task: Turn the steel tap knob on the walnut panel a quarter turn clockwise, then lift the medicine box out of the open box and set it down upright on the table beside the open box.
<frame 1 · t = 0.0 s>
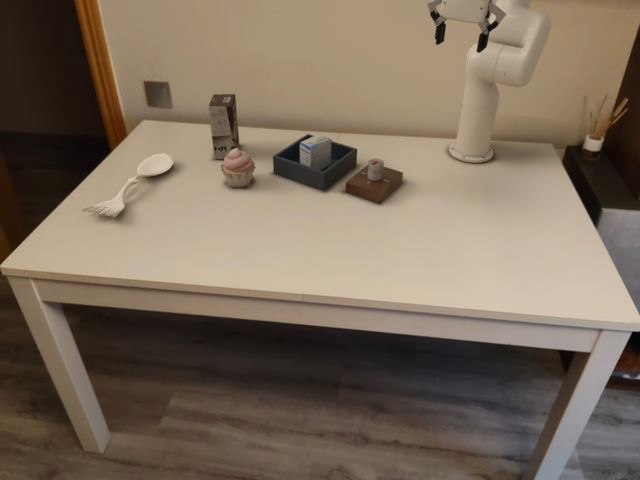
hand: (459, 47, 122), 37 cm above the table, tool pointing down, fingers open, 9 cm apart
medicine box: (315, 169, 151), resting on open box
coffee box: (227, 153, 160), on the table
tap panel: (374, 187, 144), on the table
tap knob: (375, 169, 141), point 5 cm above the table, hinge at 0.0°
cupcake: (239, 182, 146), on the table
spoon: (136, 190, 142), on the table
open box: (315, 169, 152), on the table
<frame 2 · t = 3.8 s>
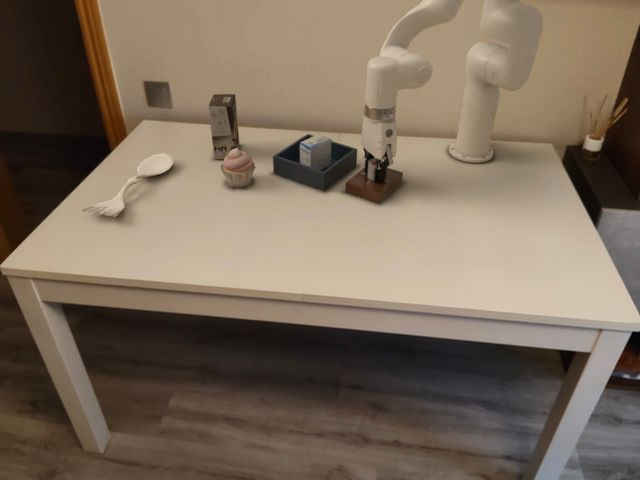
hand: (374, 176, 142), 3 cm above the table, tool pointing down, fingers closed on tap knob, 4 cm apart
tap knob: (375, 169, 141), point 5 cm above the table, hinge at 0.0°, touching gripper
everything else where it was.
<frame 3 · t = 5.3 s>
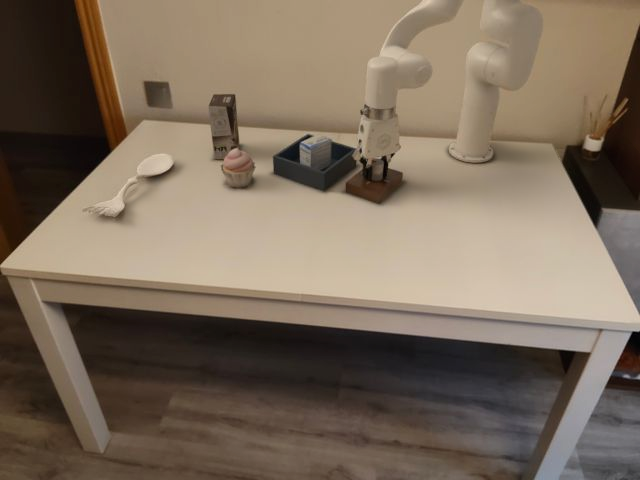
hand: (374, 176, 142), 3 cm above the table, tool pointing down, fingers closed on tap knob, 4 cm apart
tap knob: (375, 169, 141), point 5 cm above the table, hinge at -88.0°, touching gripper
everything else where it was.
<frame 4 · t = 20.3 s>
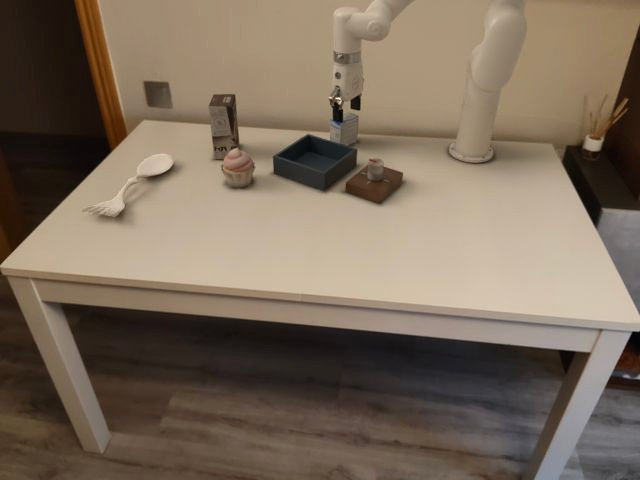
hand: (346, 115, 159), 9 cm above the table, tool pointing down, fingers open, 9 cm apart
medicine box: (343, 144, 165), on the table
tap knob: (375, 169, 141), point 5 cm above the table, hinge at -88.3°
everything else where it was.
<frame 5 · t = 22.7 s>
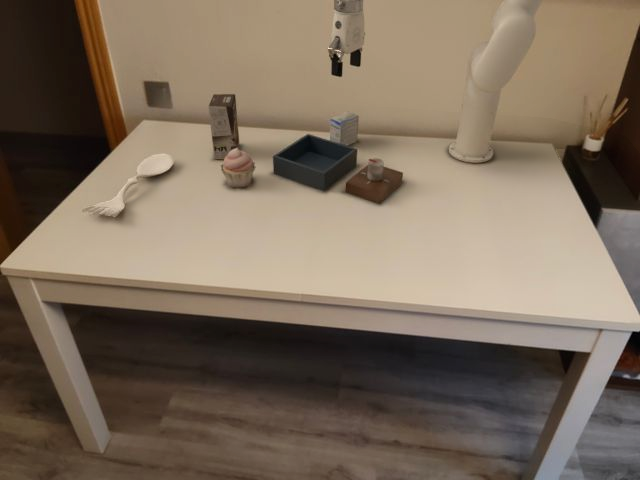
hand: (346, 70, 151), 22 cm above the table, tool pointing down, fingers open, 9 cm apart
nothing on the table moved.
at the end: tap knob at -88° (first picture: +0°); medicine box inside the target area (0.0 cm from its centre), on the table; medicine box tilted 0° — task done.
